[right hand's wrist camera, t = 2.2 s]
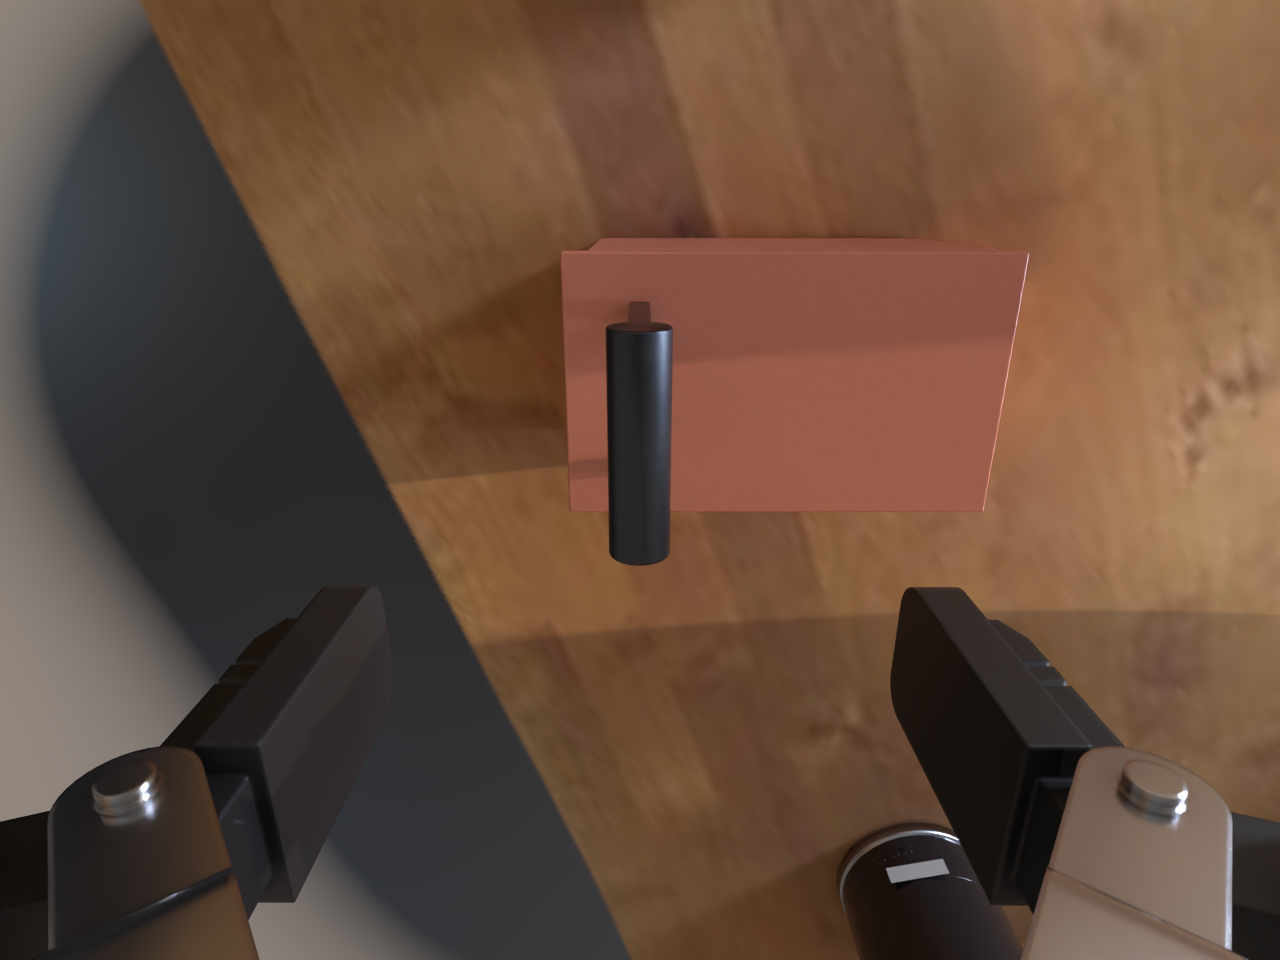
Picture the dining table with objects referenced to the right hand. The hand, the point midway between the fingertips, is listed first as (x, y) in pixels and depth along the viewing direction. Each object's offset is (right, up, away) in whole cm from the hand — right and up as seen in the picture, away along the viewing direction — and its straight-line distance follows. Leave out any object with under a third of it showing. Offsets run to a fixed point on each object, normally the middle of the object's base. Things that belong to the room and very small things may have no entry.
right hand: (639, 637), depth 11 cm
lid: (+5, +6, +16) cm, 18 cm away
